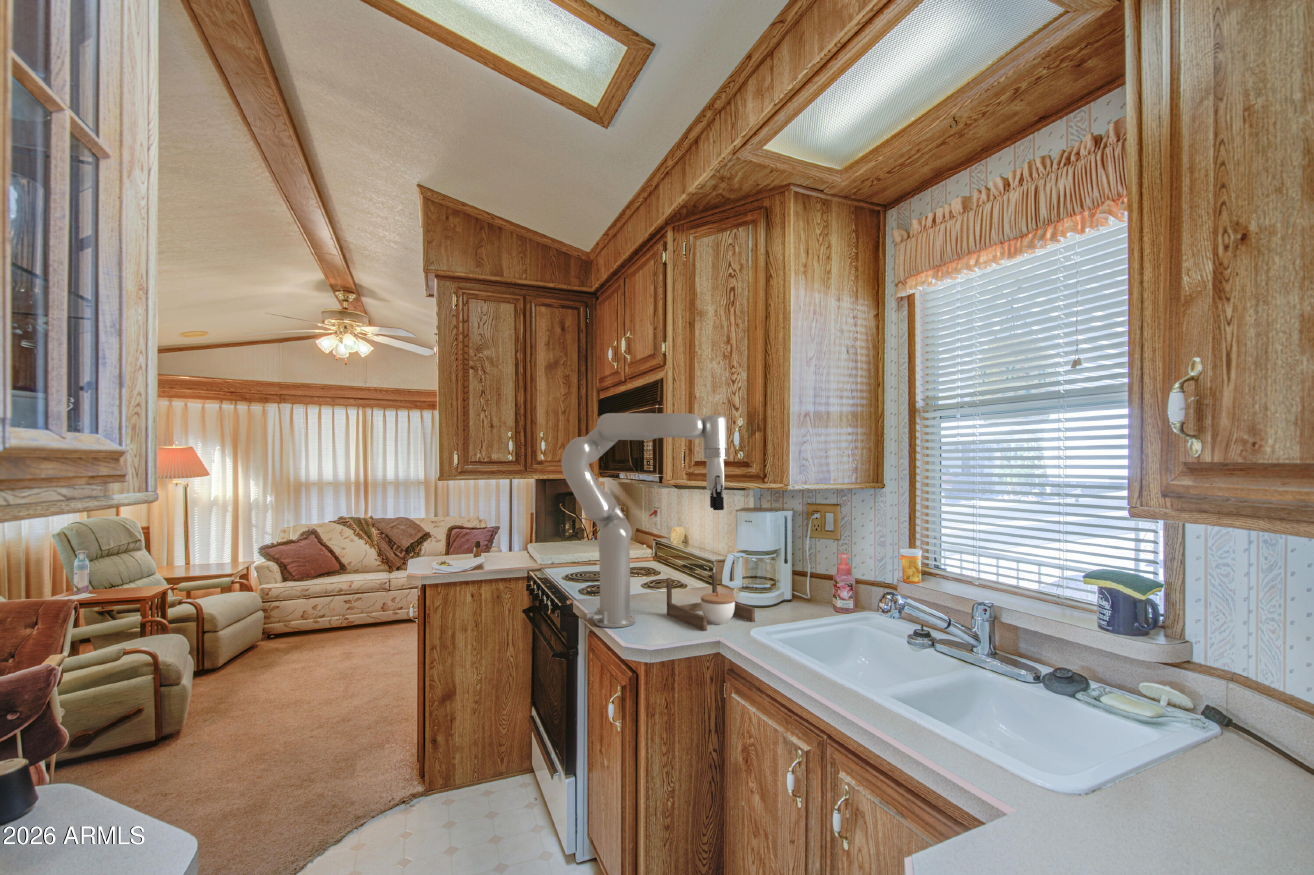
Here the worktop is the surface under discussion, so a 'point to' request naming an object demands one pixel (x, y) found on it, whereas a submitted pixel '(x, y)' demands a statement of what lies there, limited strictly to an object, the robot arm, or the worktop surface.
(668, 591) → the wooden dowel stand
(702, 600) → the lidded jar
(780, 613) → the worktop surface
